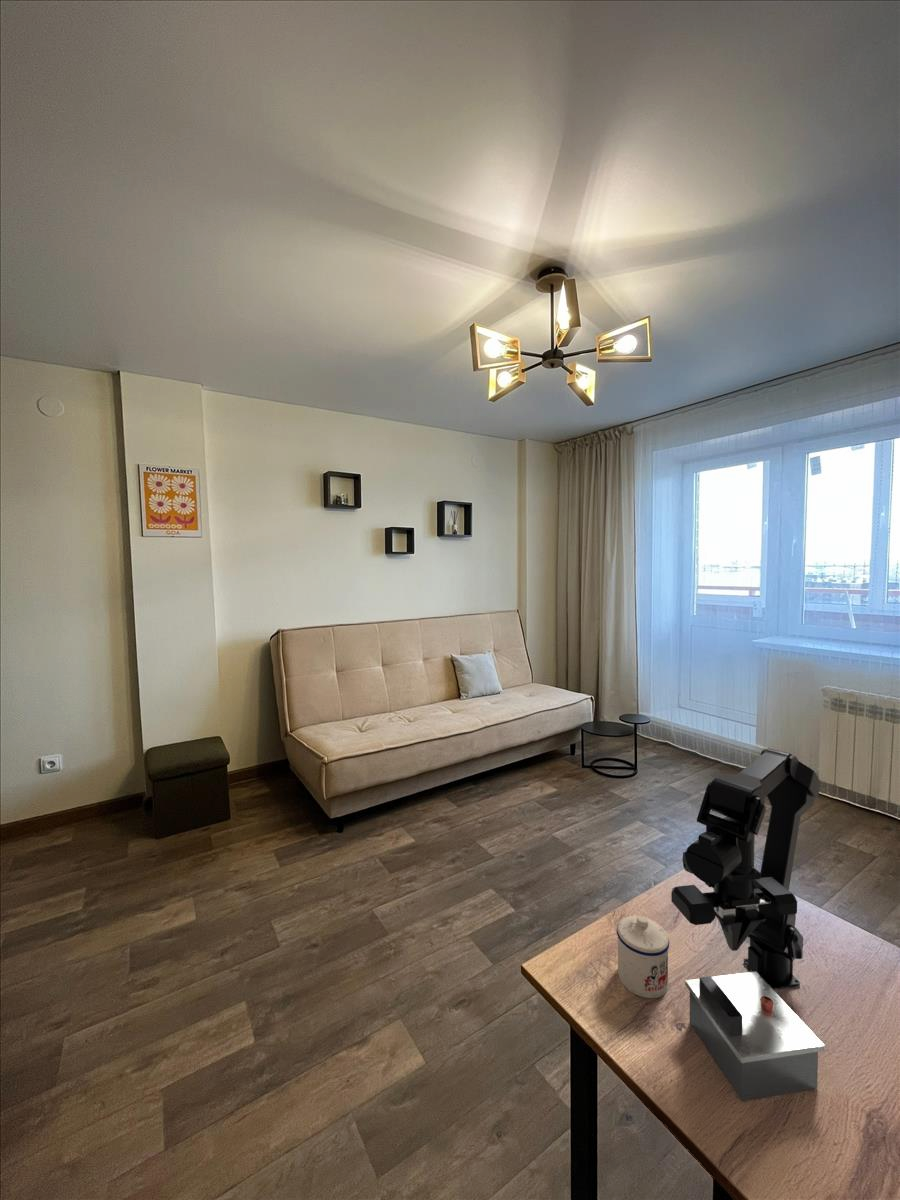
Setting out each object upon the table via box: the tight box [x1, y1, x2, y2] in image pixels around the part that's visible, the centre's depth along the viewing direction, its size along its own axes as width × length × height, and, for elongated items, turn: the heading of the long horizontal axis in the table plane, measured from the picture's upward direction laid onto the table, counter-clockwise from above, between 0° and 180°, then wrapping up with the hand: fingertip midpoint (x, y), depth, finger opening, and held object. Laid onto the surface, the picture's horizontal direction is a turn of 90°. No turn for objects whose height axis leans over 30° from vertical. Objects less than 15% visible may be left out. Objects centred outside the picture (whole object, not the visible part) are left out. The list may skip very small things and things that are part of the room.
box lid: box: [684, 971, 826, 1063], centre depth 74 cm, size 13×13×4 cm
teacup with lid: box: [616, 915, 670, 999], centre depth 89 cm, size 12×9×12 cm
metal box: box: [689, 991, 819, 1102], centre depth 74 cm, size 12×12×6 cm
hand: (732, 948), depth 79 cm, fingers closed
